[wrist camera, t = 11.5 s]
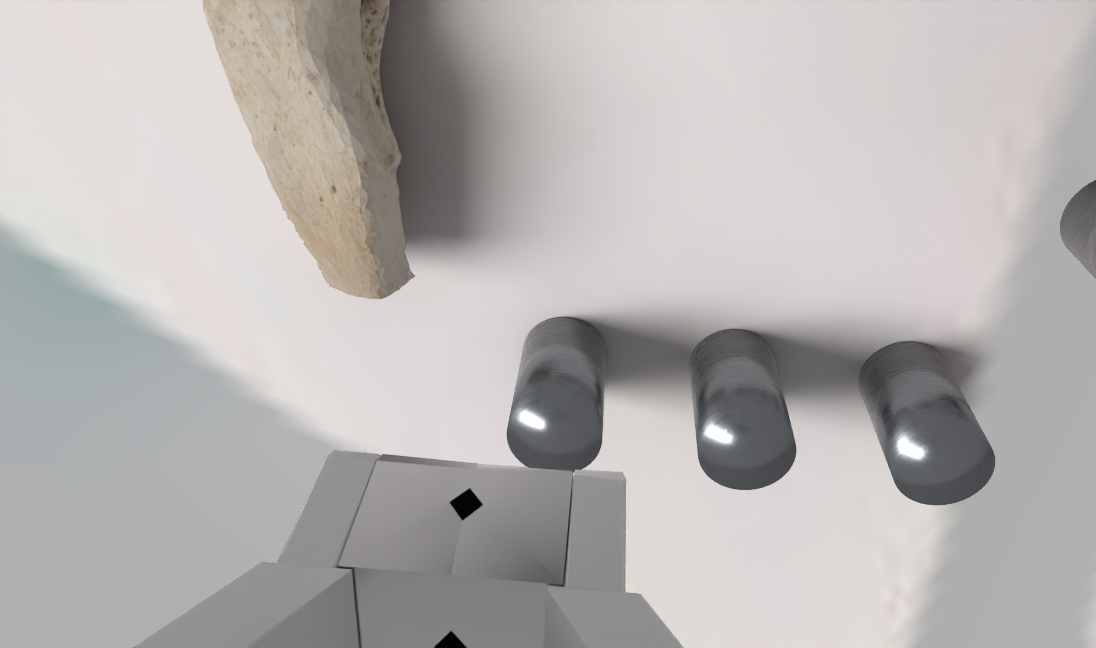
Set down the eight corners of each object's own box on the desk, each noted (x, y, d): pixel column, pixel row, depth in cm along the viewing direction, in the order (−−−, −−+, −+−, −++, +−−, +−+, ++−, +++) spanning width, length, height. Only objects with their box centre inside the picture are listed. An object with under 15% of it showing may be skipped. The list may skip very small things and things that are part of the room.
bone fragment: (176, -192, 26) (94, -186, 22) (403, -202, 25) (362, -198, 21) (270, 250, 32) (221, 316, 28) (450, 248, 32) (426, 316, 28)
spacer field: (522, 384, 34) (506, 471, 30) (545, -507, 21) (523, -581, 17) (1077, 426, 33) (1143, 521, 29) (1445, -485, 20) (1661, -556, 16)
